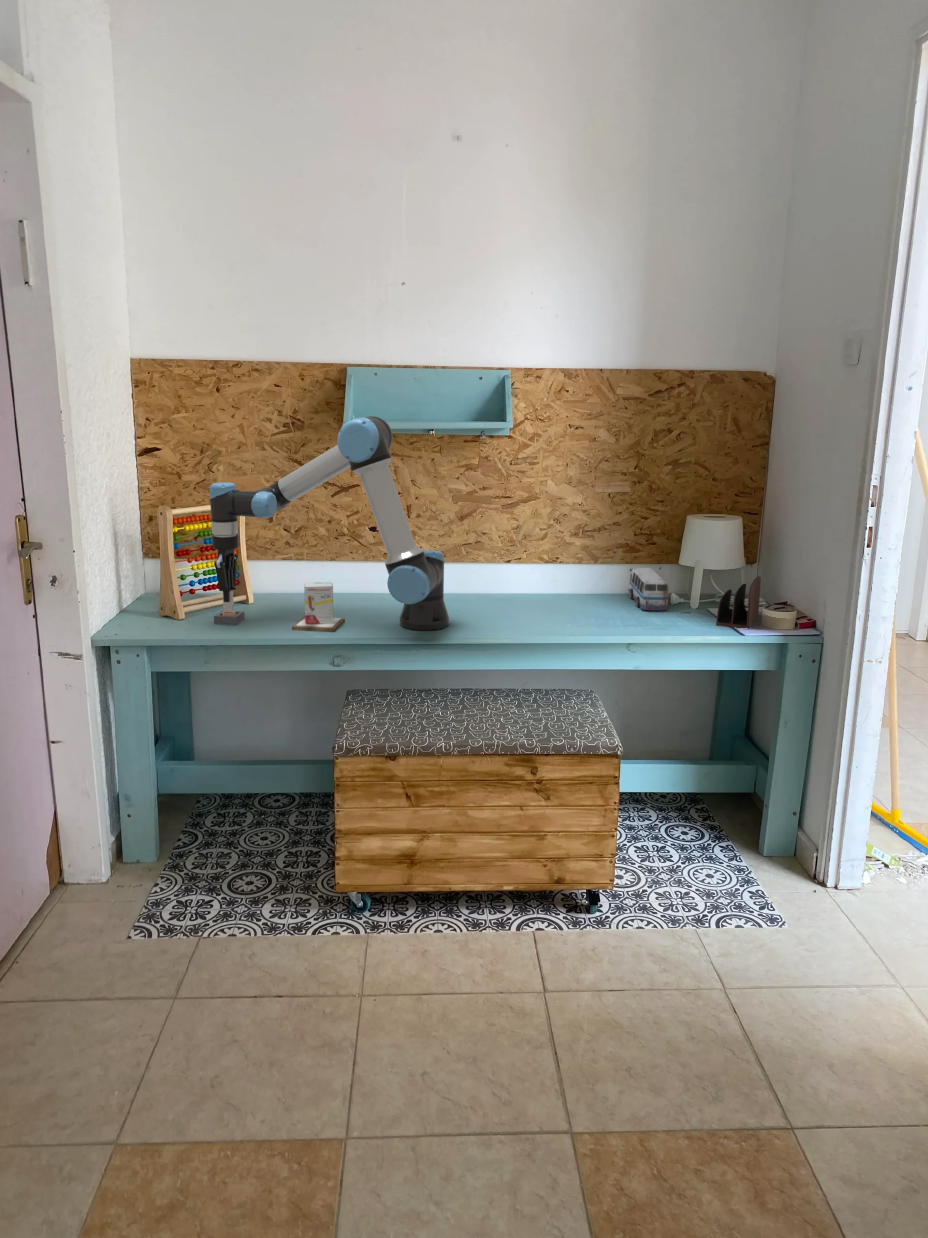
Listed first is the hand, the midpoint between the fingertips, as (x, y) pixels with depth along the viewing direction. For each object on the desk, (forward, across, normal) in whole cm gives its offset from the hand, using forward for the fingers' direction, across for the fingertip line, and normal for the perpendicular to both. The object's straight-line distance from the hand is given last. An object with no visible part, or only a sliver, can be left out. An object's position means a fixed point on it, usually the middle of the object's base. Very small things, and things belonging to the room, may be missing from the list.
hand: (228, 611), depth 278 cm
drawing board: (+3, -1, +28) cm, 28 cm away
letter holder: (+4, -34, +156) cm, 160 cm away
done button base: (+3, 0, 0) cm, 3 cm away
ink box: (+2, -1, +28) cm, 28 cm away
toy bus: (+4, -52, +129) cm, 139 cm away
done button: (+3, 0, 0) cm, 3 cm away
